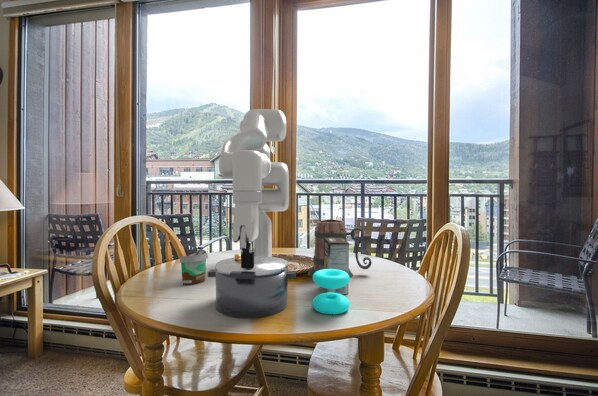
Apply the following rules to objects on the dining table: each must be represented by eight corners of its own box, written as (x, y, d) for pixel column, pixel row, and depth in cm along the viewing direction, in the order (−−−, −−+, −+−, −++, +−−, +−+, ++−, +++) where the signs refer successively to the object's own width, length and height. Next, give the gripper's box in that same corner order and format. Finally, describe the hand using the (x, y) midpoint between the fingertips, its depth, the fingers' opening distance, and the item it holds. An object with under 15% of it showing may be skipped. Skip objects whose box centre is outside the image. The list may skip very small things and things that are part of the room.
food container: (197, 287, 107) (196, 257, 106) (180, 286, 108) (179, 256, 108) (214, 277, 119) (214, 249, 119) (198, 276, 120) (198, 249, 120)
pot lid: (227, 259, 103) (227, 250, 103) (291, 260, 102) (291, 251, 102) (201, 277, 81) (201, 266, 81) (282, 279, 80) (282, 267, 80)
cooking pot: (220, 290, 104) (220, 259, 103) (298, 292, 102) (298, 260, 102) (196, 316, 84) (196, 278, 83) (292, 319, 82) (292, 280, 82)
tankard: (305, 279, 116) (306, 223, 115) (309, 267, 133) (309, 218, 132) (373, 282, 113) (374, 224, 112) (368, 269, 130) (369, 218, 129)
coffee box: (323, 285, 110) (323, 237, 109) (342, 285, 110) (343, 237, 109) (328, 294, 100) (328, 242, 100) (349, 294, 101) (349, 242, 100)
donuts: (310, 268, 94) (345, 267, 94) (310, 302, 94) (345, 301, 95) (315, 278, 84) (353, 277, 84) (314, 316, 84) (353, 315, 85)
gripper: (240, 196, 94) (240, 260, 95) (224, 199, 79) (225, 275, 80) (266, 196, 93) (266, 261, 94) (255, 199, 78) (256, 275, 79)
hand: (247, 267), depth 87 cm, fingers closed
